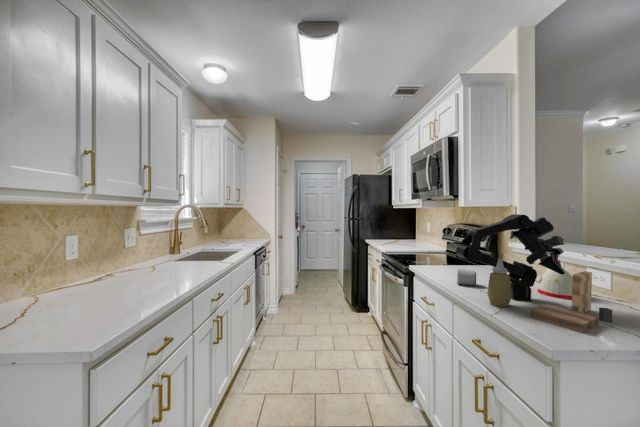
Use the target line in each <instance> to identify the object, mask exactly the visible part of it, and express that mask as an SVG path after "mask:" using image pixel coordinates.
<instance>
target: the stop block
mask: <svg viewBox="0 0 640 427" xmlns="http://www.w3.org/2000/svg"><path fill="white" fill-rule="evenodd" d="M598 317H599V321H602V322H608V323H609V322H610V323H612V322H613V310H612V309H610V308H609V307H599V308H598Z"/></svg>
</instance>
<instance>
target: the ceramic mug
mask: <svg viewBox="0 0 640 427" xmlns="http://www.w3.org/2000/svg"><path fill="white" fill-rule="evenodd" d="M456 276H457V277H456V278H457V280H456V284H457V285H462V286H464V285H465V286H473V287H474V286H476V284H477V272H476V271H475V270H470V269H465V268H464V269H463V268H459V267H458V269H457V275H456Z"/></svg>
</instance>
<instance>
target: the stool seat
mask: <svg viewBox="0 0 640 427" xmlns="http://www.w3.org/2000/svg"><path fill="white" fill-rule="evenodd" d="M529 318H531V319H534V320H537V321H541V322H544V323H546V324H550V325H553V326H557V327H560V328H563V329H567V330H570V331H574V332H577V333H581V334H584V333H586V332H588V331H590V330H592V329H593V328H595V327H597V326H599V322H600V319H599V316H596V315H592V314H588V313H586V312H585V313H581V312H577V311H573V310H570V309H569V308H566V307H561V306H556V305H552V304H548V303H546V304H543V305H540V306H537V307H534V308H532V309H530V310H529Z"/></svg>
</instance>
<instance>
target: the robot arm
mask: <svg viewBox="0 0 640 427" xmlns="http://www.w3.org/2000/svg"><path fill="white" fill-rule="evenodd" d="M554 229H555V228H554V225H553V224H552V223H551V222H550V221H549V220H548V219H546V218H545V217H542V216H541V217H539V218H538V219H536V220H532V219H530V216H528V215H526V214H515V213H513V214H510V215H508V216H506V217H504V218H503V219H502V220H500V221H497V222H495V223H490V224H487V225H484V226H481V227H476V228H473V229H470V230H469V231H468V233H467V235H466V236H465V237H464V238H463V239H462V240H461V242H459V244H458V245H457V247H456V248H455V253H456V256H457V257H459V258H461V259H464V260H467V261H471V262H475V263H477V262H479V263H483V264H486V265H488V266H491V267H492V268H493V267H496V266H497V262H498V259H499V258H497V257H494V256H492V255H488V254H485V253H483V251H481V250H480V249H481V244H482V240H483V238H486V237H489V236H493V235H497V234H499V233H503V232H506V231H510V237H509V240H512V239H515V238H516V239H517V240H518V241H519V242H520V243H521V244H522V245H523V246H524V249H525V251H529V252H530V253H531V254H529V255H528V256H526V259H525V261H526V262H527V263H528V264H529V265H528V264H526V263H523V262H519V261H516V260H513V261H512V263H511V262H507V261H505V260H502V261H503V265H504V268H506V269H507V274H508V275H509V276H510V282H511V294H512V298H511V300H514V301H522V302H523V301H526V302H533V299H531V298H532V288H533V287H534V285H535V282H536V280H537V277H538V272H537V270H536V269H535V268H534V266H532V265H535V262H536V261H538V260H539V261H540V262H538V264H537V265H539V266H541V267H544V268H547V269H548V270H550V269H551V270H553V271H555V272H557V273H559V274H561V275H563V274H565V272H564V270H565V269H564V268H563V267H562V264H561V265H560V263H559V261H558V260H559V256H560V255H562V254H563V253H565V251H564V250H563V249H562V248H561V247H558V246H564V245H565V243H564V240H565V239H564V238H563V237H562V236H559V235H554V236H553V235H552V236H551V237H550V238H547V239H544V238H541V237H544V236H545V235H548V234H550V233H552V232H554ZM563 269H564V270H563ZM531 287H532V288H531Z"/></svg>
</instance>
